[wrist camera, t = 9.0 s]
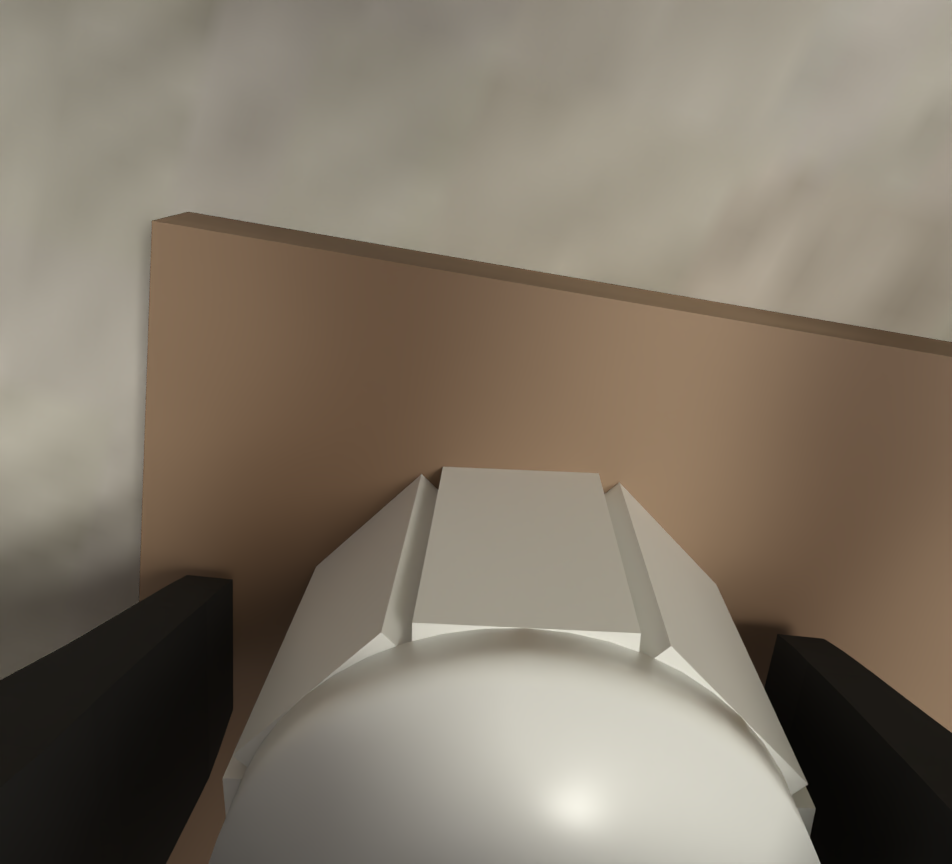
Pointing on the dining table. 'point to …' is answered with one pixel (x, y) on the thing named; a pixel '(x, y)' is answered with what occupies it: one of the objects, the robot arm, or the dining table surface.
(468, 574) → the cap
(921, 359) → the brown tray
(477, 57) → the dining table surface
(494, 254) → the dining table surface
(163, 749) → the robot arm
